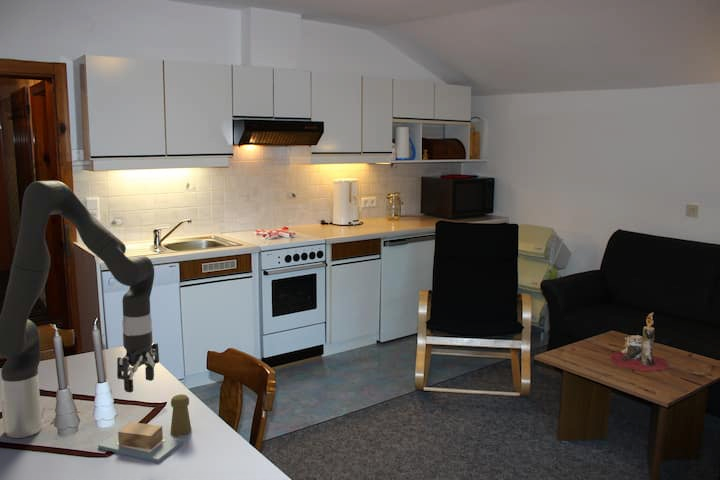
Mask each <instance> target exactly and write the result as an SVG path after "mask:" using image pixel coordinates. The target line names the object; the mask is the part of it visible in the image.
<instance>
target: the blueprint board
mask: <svg viewBox="0 0 720 480" xmlns="http://www.w3.org/2000/svg"><path fill="white" fill-rule="evenodd" d="M183 444H184V440H182V439H179V438H174V437H169V436H164V435H163V439H162V440H161V441H160V442H159V443H158V444H157V445H156V446H155V447H154V448H153V449H144V448H136V447H129V446H121V445H119V439H118V432H117V433H115V434H114V435H112V436H110V437H109V438H108V439H105V440H104V441H103V442H101V443H100V444H97V445H98V449H99V448H100V449H99V450H103V449H104V451H107V450H109V451H108V452H111V451H112V452H111V453H116V454H120V455H125V456H129V457H131V458H132V457H133V458H137V459H141V460H146V461H151V462H153V463H157V464H159V463H160V462H162V461H164V459H165V458H167V457H168V456H170V455H171V454H172V453H173V452H175V450H177V449H178V448H180V447H181V446H182V445H183Z"/></svg>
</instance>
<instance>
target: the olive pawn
mask: <svg viewBox="0 0 720 480" xmlns="http://www.w3.org/2000/svg"><path fill="white" fill-rule="evenodd" d="M189 404H190V398H189V396H188V395H186V394H180V393H179V394H175V395H174V396H173V397H172V398H171V400H170V406H171V407H172V415H171V424H170V426H171V427H170V434H171V435H172V436H174V437H183V436H187V435H189V434H191V432H192V425H191V419H190V418H191V417H190V413H189V408H188V407H189Z"/></svg>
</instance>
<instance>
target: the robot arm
mask: <svg viewBox="0 0 720 480" xmlns="http://www.w3.org/2000/svg"><path fill="white" fill-rule="evenodd" d="M20 213H21V216H20V224H19V230H18V231H19V232H18V237H17V241H16V247H15V251H14V256H13V259H12V263H11V268H10V274H9V278H8V283H7V287H6V292H5V295H4V296H5V297H4V301H3V305H2V309H1V312H0V357H1V358H3V359H6V361H5V363H4V364H3V366H2V367H1V369H0V370H1V371H0V374H1V375H0V376H1V384H2V385H1V387H2V395H3V396H2V398H3V400H2V401H1V404H0V405H1V415H2V426H3V433H5V434H6V436H7V437H9V438H12V439H21V438H22V439H23V438H27V437H31V436H33V435H36V434H37V433H40V431H42V430H43V429H42V428H43V423H42V421H43V420H42V410H41V396H40V385H39V384H40V383H39V382H40V381H39V365H40V362H41V341H40V340H41V339H40V333H39V328H38V327H37V325H36V323H35V322H33V321H32V320H30V319H29V315H30V313H31V312H32V310H33V308H34V305H36V302H37V300H38V299H39V298H40V296H41V294H42V292H43V290H44V288H45V287H46V283H47V281H48V278H49V272H50V267H51V255H50V252H49V248H48V244H47V242H46V229H47V224H48V221H49V218H50V216H52V215H59V216H61V217H63V218H64V219H66V220H67V221H69V223H71V224H72V225H73V226H74V228H75V229H76V230H77V233H78V234H79V236H80V239H81V241H82V243H83V244H84V245H85V247H86V248H87V249H88V250H89V251H90V252H92V254H94V255H95V256H96V257H97V258H99V259H100V260H101V261H102V262H103V263H104V264H105V266H106V267H107V270H109V273H110V274H111V275H112V276H113V278H114V279H115V280H116V281H117V282H118V283H120V284H121V285H122V286H127V287H129V289H128V290H127V292H125V294H124V295H123V296H122V345H123V348H124V349H125V352H126V353H125V355H124V356H123V357H122V356H118V357H117V359H116V360H117V361H116V367H117V369H116V371H117V373H116V375H117V380H123V388H124V389H123V390H124V391H125V393H133V392H134V379H133V377H134V376H135V373H136V372H137V371H138V369H139V367H141V366H142V365H144V366H145V368H144V369H145V370H144V371H145V380H146V381H149V382H150V381H151V382H152V381H153V380H155V379H154V377H155V367H156V364H159V362H160V354H159V353H160V352H159V345H158V344H159V343H157V342H153V321H152V316H151V315H152V313H151V300H150V299H151V294H152V290H153V285H154V279H155V266H154V264H153V262H152V260H151V259H150V258H149V257H147V256H145V255H137V256H134V257H131V258H128V257H127V256H126V255H125V254H126V250H127V247H126V245H125V243H123V241H121V240H120V239H119V238H118V237H117V236H116V235H114V233H112V232H111V231H110V230H109V229H107V227H105V226H104V225H103V223H101V222H100V221H99V220H98V219H97V218H96V217H95V216H94V215H93V214H92V213H91V212H90V210H89V209H88V208H87V207H86V206H85V205H84V203H83V202H82V201H81V200H80V198H78V197H77V195H76V194H75V193H74V191H72V189H71V188H70V187H69V186H68V185H67V184H65V183H63V182H62V181H59V180H38V181H33V182H31V183H30V184H29V185H28V186H27V187H26V188H25V191H24V194H23V197H22V204H21V212H20Z"/></svg>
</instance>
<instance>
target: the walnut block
mask: <svg viewBox="0 0 720 480" xmlns="http://www.w3.org/2000/svg"><path fill="white" fill-rule="evenodd" d="M117 433H118V439H119V445H121V446H129V447H136V448H144V449H153V448H154V447H155V446H156V445H157V444H158V443H159V442H160V441H161V440H162V439H163V436H164V435H163V425H156V424H150V423H140V422H133V421H132V422H131V421H129V422H128V423H127V424H126V425H124V426H123V427H122V428H121V429H120V430H118V431H117Z"/></svg>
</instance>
